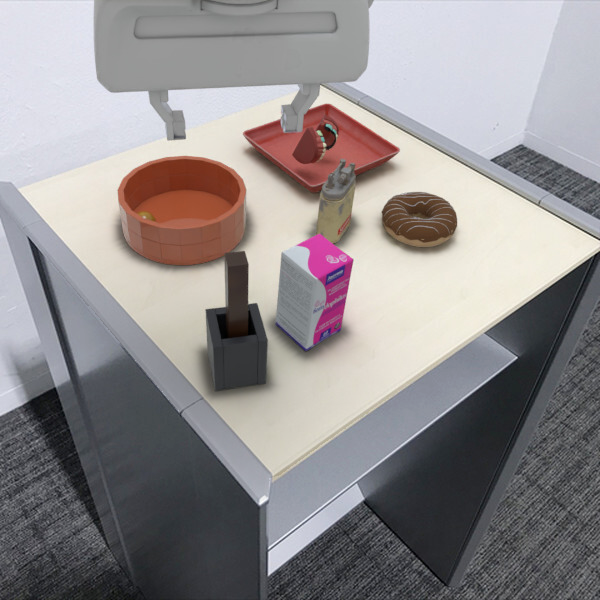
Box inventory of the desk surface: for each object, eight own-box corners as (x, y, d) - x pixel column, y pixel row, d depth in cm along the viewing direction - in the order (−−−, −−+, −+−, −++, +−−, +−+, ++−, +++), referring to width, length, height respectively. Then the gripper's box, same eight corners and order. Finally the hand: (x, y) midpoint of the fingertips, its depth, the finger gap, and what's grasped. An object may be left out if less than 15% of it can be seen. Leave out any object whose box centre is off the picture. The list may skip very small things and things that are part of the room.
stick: (229, 376, 73) (227, 266, 62) (226, 362, 75) (224, 252, 64) (247, 373, 74) (248, 263, 63) (244, 360, 75) (244, 250, 64)
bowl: (127, 272, 85) (121, 234, 80) (120, 196, 96) (114, 160, 92) (255, 258, 88) (256, 221, 84) (234, 186, 100) (234, 151, 95)
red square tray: (310, 205, 97) (312, 186, 95) (240, 149, 107) (240, 131, 105) (399, 168, 106) (402, 149, 104) (326, 119, 116) (328, 102, 113)
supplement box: (307, 354, 76) (314, 279, 69) (274, 324, 79) (277, 250, 72) (343, 331, 79) (355, 257, 71) (310, 303, 82) (317, 230, 75)
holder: (215, 391, 72) (213, 347, 67) (207, 353, 76) (205, 309, 71) (266, 383, 73) (267, 340, 68) (256, 346, 77) (257, 302, 72)
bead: (126, 225, 87) (137, 205, 87) (131, 228, 90) (143, 209, 90) (145, 236, 87) (157, 216, 87) (150, 239, 90) (162, 220, 90)
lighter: (334, 247, 91) (342, 185, 84) (309, 239, 92) (315, 177, 85) (353, 220, 96) (362, 159, 89) (329, 212, 97) (336, 151, 90)
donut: (436, 263, 90) (443, 240, 87) (366, 234, 93) (370, 211, 90) (465, 224, 96) (472, 201, 94) (399, 198, 100) (403, 176, 97)
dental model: (334, 154, 104) (309, 175, 98) (313, 137, 104) (287, 158, 98) (350, 126, 99) (324, 147, 94) (328, 109, 100) (301, 129, 94)
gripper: (367, -66, 49) (345, 107, 59) (77, -68, 45) (104, 120, 54) (397, -38, 45) (368, 144, 54) (78, -36, 40) (107, 162, 50)
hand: (234, 132), depth 54 cm, fingers open, 8 cm apart
